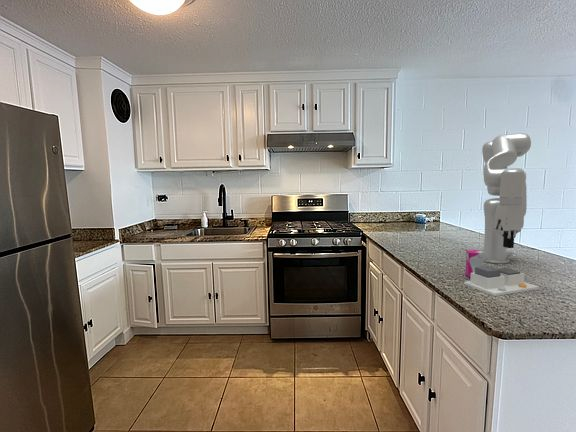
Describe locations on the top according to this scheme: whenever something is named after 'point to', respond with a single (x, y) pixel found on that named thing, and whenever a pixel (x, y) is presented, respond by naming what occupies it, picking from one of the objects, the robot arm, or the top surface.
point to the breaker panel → (500, 284)
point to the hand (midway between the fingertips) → (508, 247)
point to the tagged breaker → (509, 271)
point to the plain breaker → (487, 271)
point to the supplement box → (473, 261)
